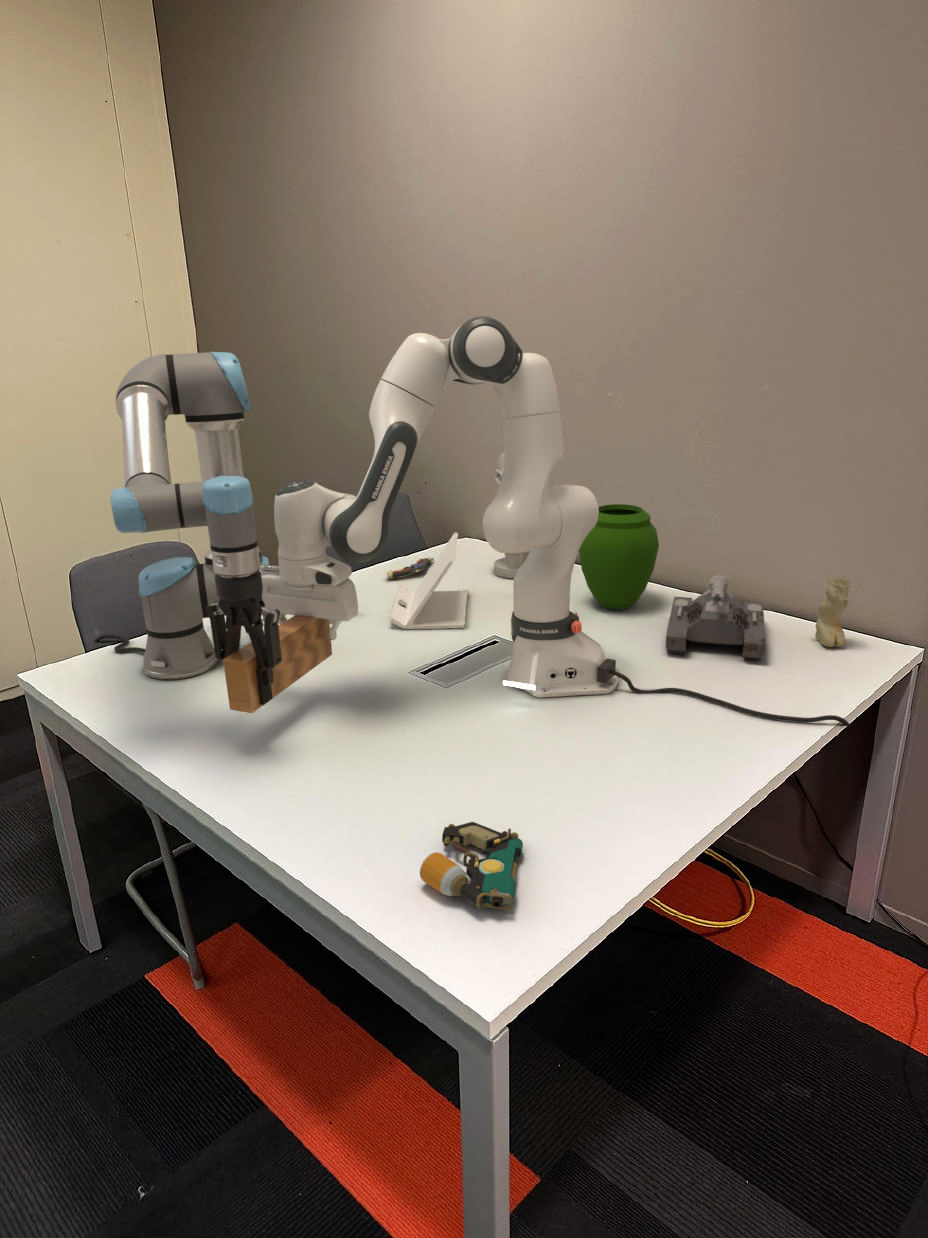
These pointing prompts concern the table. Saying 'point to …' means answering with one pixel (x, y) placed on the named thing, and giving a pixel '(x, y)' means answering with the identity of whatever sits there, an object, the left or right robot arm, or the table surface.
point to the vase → (619, 555)
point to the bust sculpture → (512, 560)
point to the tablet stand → (431, 599)
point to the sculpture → (832, 613)
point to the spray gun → (476, 866)
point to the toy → (717, 621)
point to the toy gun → (410, 568)
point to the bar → (299, 656)
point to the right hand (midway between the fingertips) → (309, 636)
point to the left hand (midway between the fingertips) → (253, 699)
